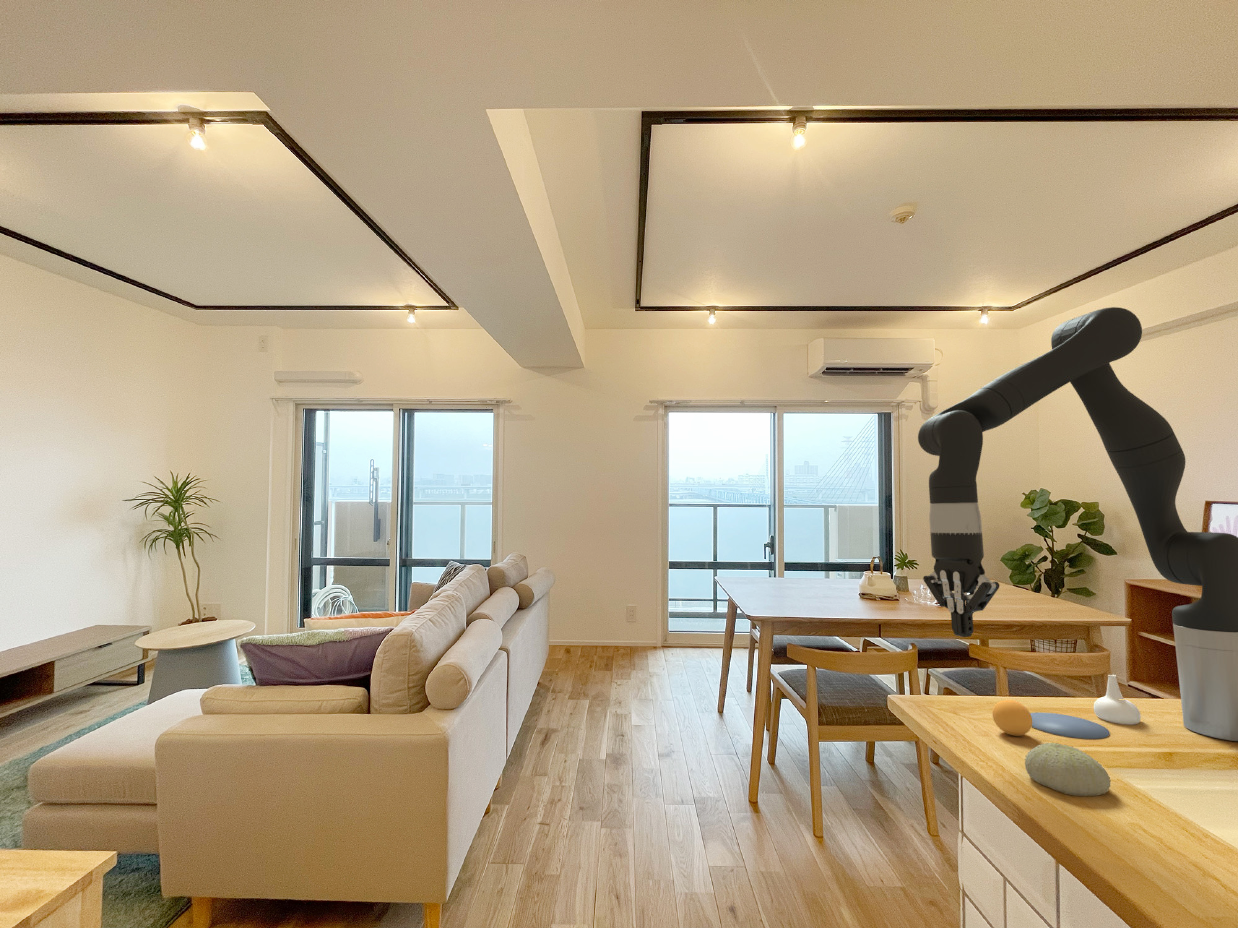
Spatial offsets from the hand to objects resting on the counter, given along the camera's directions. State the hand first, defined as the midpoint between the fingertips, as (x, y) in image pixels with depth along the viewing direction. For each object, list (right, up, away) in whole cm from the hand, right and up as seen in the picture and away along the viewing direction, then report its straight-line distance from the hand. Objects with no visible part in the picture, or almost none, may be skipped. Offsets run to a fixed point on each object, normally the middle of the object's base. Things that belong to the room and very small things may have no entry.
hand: (962, 635), depth 93 cm
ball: (+9, -14, +1) cm, 17 cm away
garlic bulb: (+32, -18, +8) cm, 38 cm away
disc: (+21, -17, +5) cm, 27 cm away
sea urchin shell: (+4, -16, -16) cm, 23 cm away
